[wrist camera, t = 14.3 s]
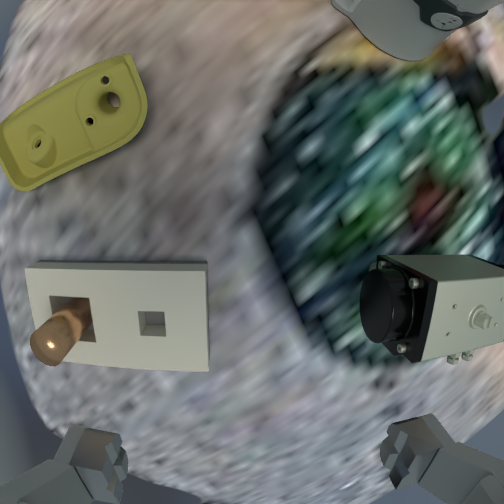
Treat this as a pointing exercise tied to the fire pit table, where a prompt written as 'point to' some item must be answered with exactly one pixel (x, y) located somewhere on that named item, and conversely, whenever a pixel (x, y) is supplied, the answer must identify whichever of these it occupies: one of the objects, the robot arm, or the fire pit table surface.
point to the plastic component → (72, 123)
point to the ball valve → (433, 305)
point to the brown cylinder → (61, 331)
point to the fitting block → (130, 311)
